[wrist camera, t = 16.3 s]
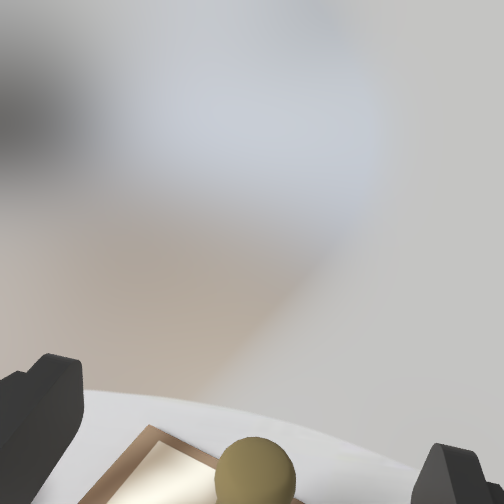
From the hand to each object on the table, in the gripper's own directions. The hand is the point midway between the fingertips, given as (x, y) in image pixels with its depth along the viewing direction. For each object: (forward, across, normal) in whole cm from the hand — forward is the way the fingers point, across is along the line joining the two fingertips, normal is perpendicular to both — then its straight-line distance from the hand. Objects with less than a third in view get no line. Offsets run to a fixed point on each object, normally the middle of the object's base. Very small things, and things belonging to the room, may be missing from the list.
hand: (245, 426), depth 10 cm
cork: (+12, 0, +27) cm, 30 cm away
